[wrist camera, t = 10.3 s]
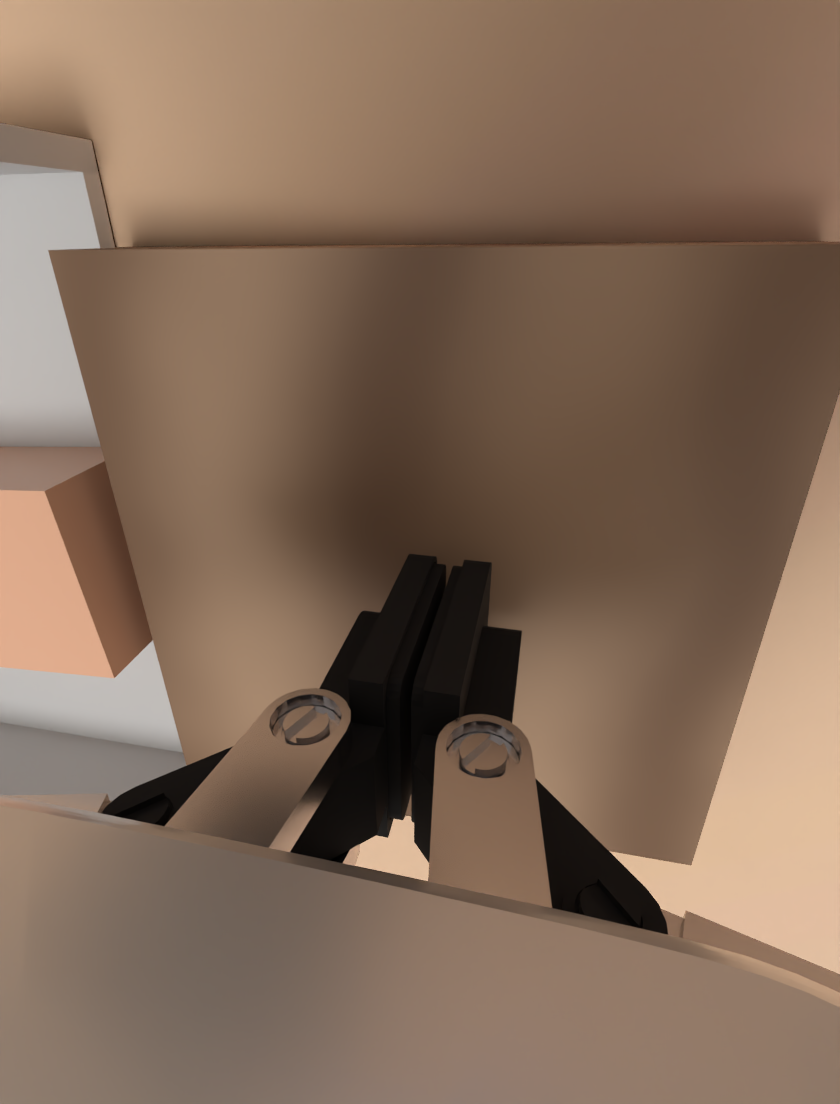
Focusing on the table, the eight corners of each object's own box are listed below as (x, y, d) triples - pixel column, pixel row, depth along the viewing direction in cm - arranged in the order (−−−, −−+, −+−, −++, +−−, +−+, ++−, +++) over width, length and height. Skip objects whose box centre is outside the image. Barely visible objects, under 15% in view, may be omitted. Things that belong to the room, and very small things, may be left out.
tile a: (132, 446, 15) (44, 490, 13) (180, 612, 18) (114, 678, 15) (-29, 446, 16) (-140, 486, 14) (36, 602, 19) (-49, 662, 16)
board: (822, 241, 11) (885, 243, 9) (675, 786, 17) (691, 865, 15) (130, 246, 13) (48, 250, 11) (229, 718, 20) (189, 777, 18)
